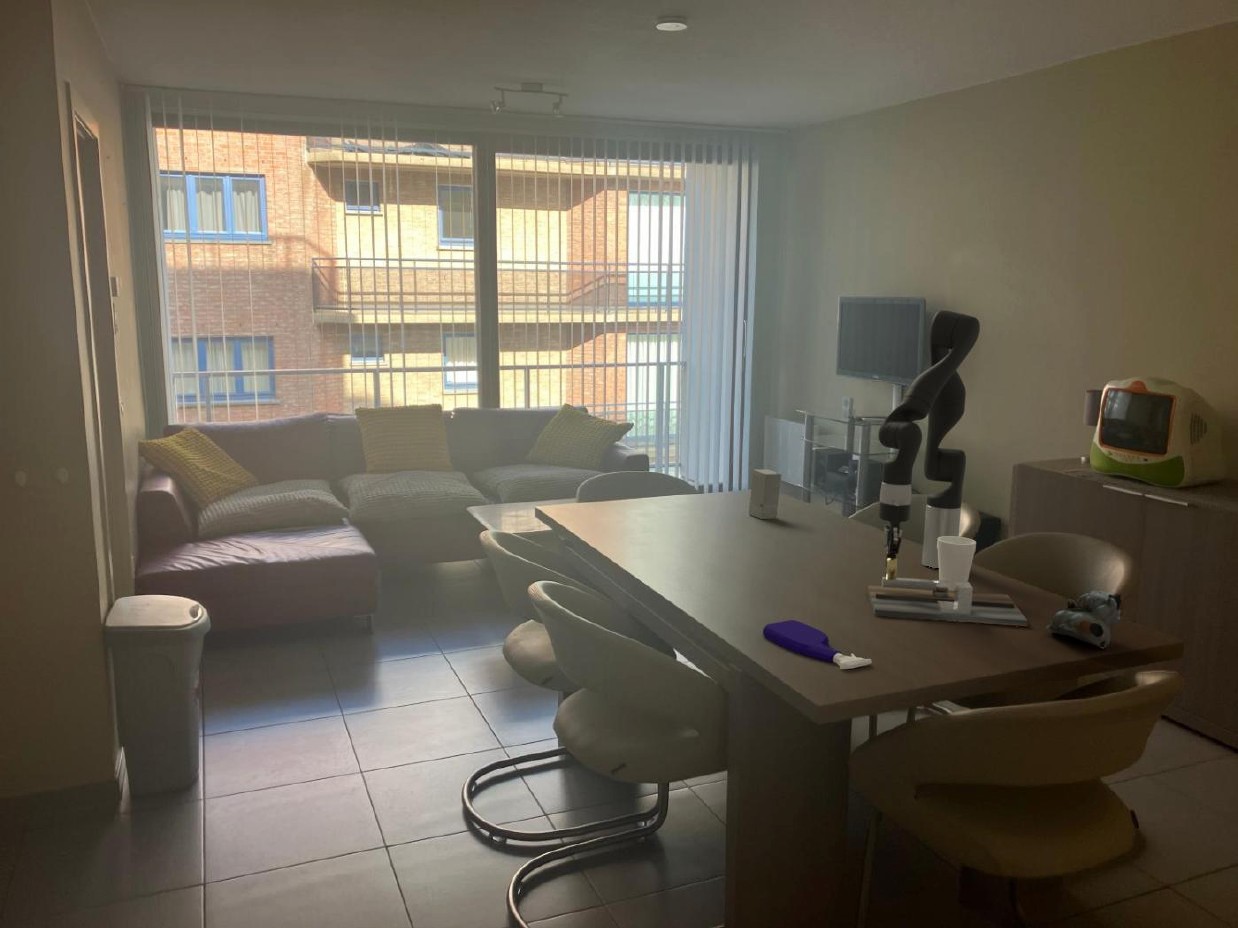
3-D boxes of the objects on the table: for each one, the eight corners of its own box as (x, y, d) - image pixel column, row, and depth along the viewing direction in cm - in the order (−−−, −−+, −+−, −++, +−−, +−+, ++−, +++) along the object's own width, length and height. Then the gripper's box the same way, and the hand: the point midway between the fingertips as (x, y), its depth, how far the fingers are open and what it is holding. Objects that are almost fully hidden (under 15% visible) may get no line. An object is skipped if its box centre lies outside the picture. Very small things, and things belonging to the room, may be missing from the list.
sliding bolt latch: (867, 590, 253) (868, 580, 253) (1007, 600, 248) (1008, 590, 247) (874, 615, 233) (875, 604, 232) (1027, 627, 227) (1028, 615, 227)
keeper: (937, 605, 237) (939, 579, 236) (965, 607, 236) (968, 581, 235) (940, 613, 231) (943, 586, 230) (970, 615, 230) (972, 588, 229)
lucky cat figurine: (1039, 628, 226) (1067, 574, 227) (1090, 654, 224) (1118, 600, 224) (1056, 630, 212) (1086, 572, 212) (1111, 658, 209) (1141, 600, 210)
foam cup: (946, 595, 251) (951, 545, 249) (926, 585, 260) (930, 536, 258) (979, 593, 253) (983, 543, 251) (958, 583, 262) (962, 535, 260)
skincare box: (748, 514, 341) (750, 469, 338) (765, 513, 344) (768, 468, 341) (761, 520, 333) (764, 473, 331) (779, 518, 336) (782, 472, 334)
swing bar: (946, 588, 247) (949, 560, 245) (949, 592, 243) (951, 564, 242) (881, 583, 249) (883, 556, 248) (883, 587, 245) (885, 560, 244)
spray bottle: (758, 625, 216) (837, 663, 195) (797, 617, 221) (877, 654, 201) (757, 638, 216) (836, 677, 196) (796, 630, 222) (876, 667, 201)
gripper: (876, 494, 254) (872, 560, 257) (882, 505, 241) (877, 574, 244) (907, 496, 253) (902, 562, 256) (914, 506, 240) (909, 576, 243)
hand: (890, 568), depth 250 cm, fingers closed
